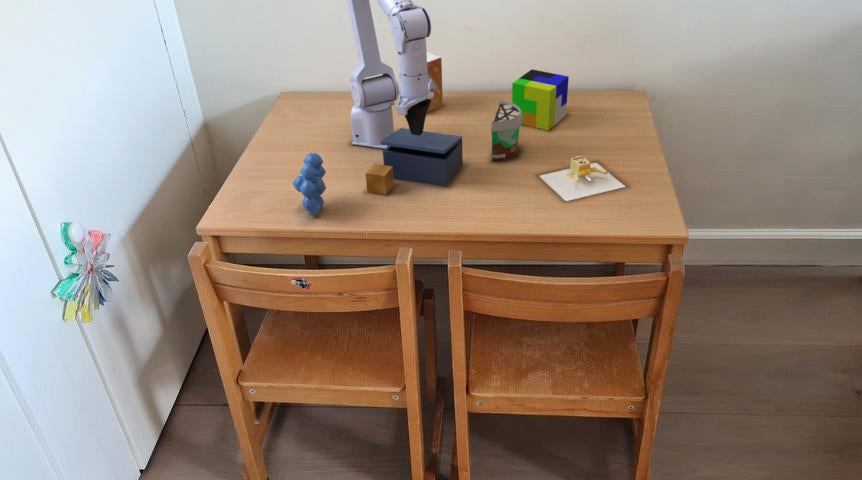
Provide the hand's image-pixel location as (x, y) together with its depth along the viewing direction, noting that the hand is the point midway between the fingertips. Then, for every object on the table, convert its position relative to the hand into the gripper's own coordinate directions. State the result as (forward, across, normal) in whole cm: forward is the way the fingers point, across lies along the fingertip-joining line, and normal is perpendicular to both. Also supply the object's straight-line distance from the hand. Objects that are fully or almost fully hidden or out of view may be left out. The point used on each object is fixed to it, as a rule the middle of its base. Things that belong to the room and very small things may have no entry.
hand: (417, 133), depth 161 cm
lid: (+3, +2, 0) cm, 4 cm away
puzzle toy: (+10, +37, -17) cm, 42 cm away
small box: (+11, +35, +13) cm, 38 cm away
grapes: (+10, -19, +16) cm, 27 cm away
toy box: (+10, +3, 0) cm, 11 cm away
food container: (+10, +17, -15) cm, 25 cm away
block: (+10, -7, +6) cm, 14 cm away
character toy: (+10, +9, -34) cm, 37 cm away
